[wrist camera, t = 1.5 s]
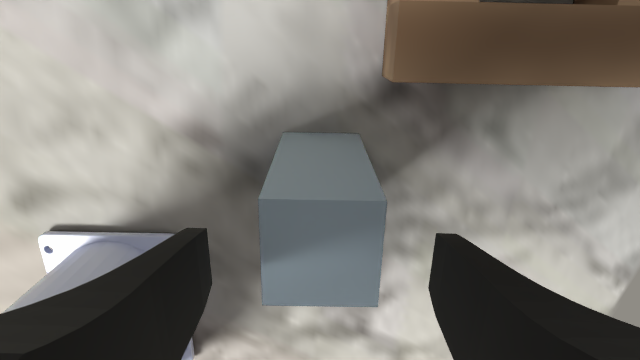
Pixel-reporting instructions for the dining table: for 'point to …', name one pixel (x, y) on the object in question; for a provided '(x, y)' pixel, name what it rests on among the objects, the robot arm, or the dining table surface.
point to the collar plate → (513, 43)
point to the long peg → (321, 223)
